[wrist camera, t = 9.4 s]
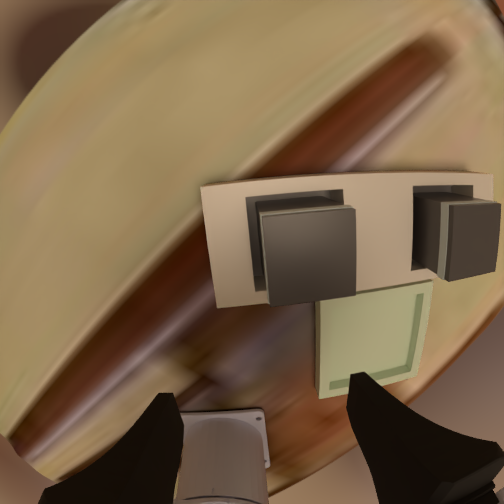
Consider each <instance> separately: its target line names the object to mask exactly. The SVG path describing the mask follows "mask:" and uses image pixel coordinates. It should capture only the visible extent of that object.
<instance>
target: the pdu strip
mask: <svg viewBox="0 0 504 504" xmlns="http://www.w3.org/2000/svg"><path fill="white" fill-rule="evenodd" d="M200 189H201V198H202V206H203V214H204V221H205V229H206V236H207V244H208V251H209V258H210V265H211V271H212V278H213V285H214V291H215V298H216V304H217V308H225V307H235V306H245V305H254V304H264V303H268V300H267V290H266V285H265V281H264V276H263V272H262V267H261V257H260V247H259V236H258V226H257V216H256V206H255V202H256V201H266V200H277V199H288V198H299V197H312V196H324V197H326V198H329V199H331V200H334V201H337V202H339V203H342V204H344V205H350V206H353V208H354V209H356V244H357V266H356V291H362V290H368V289H375V288H381V287H387V286H393V285H399V284H405V283H411V282H416V281H422V280H427V279H433V278H438V276H437V274H435V273H434V272H432V271H431V270H429V269H427V268H426V267H424V266H423V265H421V264H419V263H418V262H416V261H414V260H413V259H412V239H413V193H420V192H451V193H456V194H460V195H465V196H470V197H474V198H479V199H483V200H492V201H493V174H488V173H480V172H471V171H445V170H390V171H355V172H334V173H316V174H301V175H288V176H276V177H265V178H254V179H244V180H235V181H226V182H217V183H209V184H205V185H203V186H202V187H200Z"/></svg>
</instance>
